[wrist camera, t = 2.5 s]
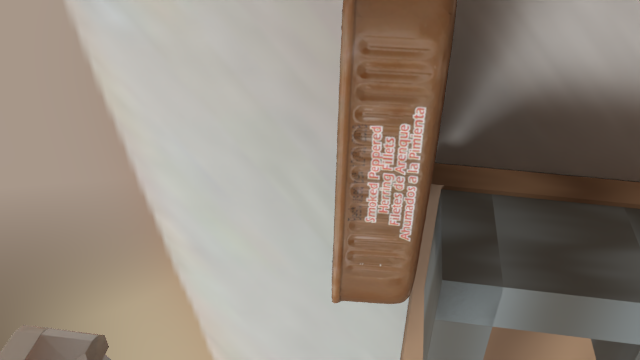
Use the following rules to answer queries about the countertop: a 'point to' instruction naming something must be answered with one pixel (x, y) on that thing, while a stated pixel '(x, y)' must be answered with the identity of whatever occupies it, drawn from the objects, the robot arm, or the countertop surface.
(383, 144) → the tin
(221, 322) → the countertop surface
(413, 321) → the stand
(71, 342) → the robot arm
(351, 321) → the countertop surface
